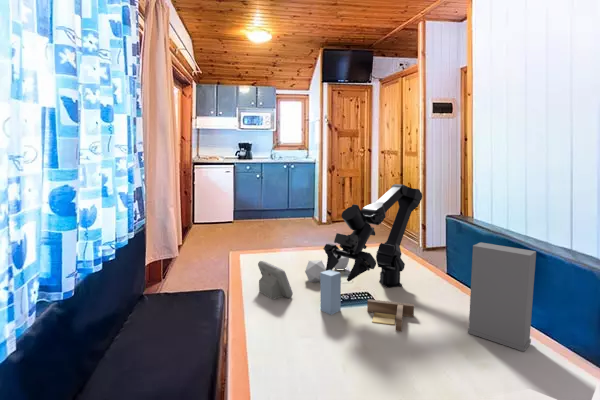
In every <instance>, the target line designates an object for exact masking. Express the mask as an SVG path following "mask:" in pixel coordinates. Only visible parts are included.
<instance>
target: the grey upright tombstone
mask: <svg viewBox="0 0 600 400" xmlns="http://www.w3.org/2000/svg"><path fill="white" fill-rule="evenodd" d="M471 259H472V260H471V277H470V295H469V296H470V299H469V314H468V315H469V317H468V329H467V333H468V334H469V335H472V336H473V335H474V336H476V337H480V338H483V339H485V340H489V341H492V342H494V343H496V344H501V345H504V346H506V347H509V348H513V349H515V350H518V351H519V352H525V351H526V349H527V348H528V347H529V346H530V344H531V342H532V338H531V329H532V328H531V327H532V326H531V325H532V314H533V312H532V311H533V299H534V287H535V285H534V284H535V272H536V260H537V251H535V250H530V249H524V248H518V247H512V246H505V245H498V244H493V243H488V242H487V243H486V242H482V241H481V242H478V243H476V244H473V245H472V257H471Z"/></svg>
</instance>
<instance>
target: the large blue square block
mask: <svg viewBox="0 0 600 400" xmlns="http://www.w3.org/2000/svg"><path fill="white" fill-rule="evenodd" d="M341 275H342V273H341V271H340V272H339V271H338V270H334V269H332V270H327V271H324V272H321V273H320V282H319V283H320V311H321V312H323V313H326V314H329V315H330V316H331V315H334V314H336V313H338V312H341V304H342V302H341V300H342V299H341V293H342V292H341V291H342V289H341V286H342V285H341V282H342V280H341V279H342V277H341Z"/></svg>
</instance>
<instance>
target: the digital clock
mask: <svg viewBox="0 0 600 400" xmlns="http://www.w3.org/2000/svg"><path fill="white" fill-rule="evenodd" d="M257 266H258V269H259V271H260V274H261V278H259V281H258V291H259V293H261V294H262V295H264V296H266V297H268V298H269V299H271V300H274V299H278V298H281V297H285V298H288V299H289V298H290V299H291V298H292V297H293V293H294V292H293V290H292V286H291V285H290V282H289V279H288V277H287V274H286V272H285V270H284V269H283V268H280V267H278V266H275V265H274V264H272V263H269V262H267V261H266V260H265V261H264V260H260V261H258V263H257Z"/></svg>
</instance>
